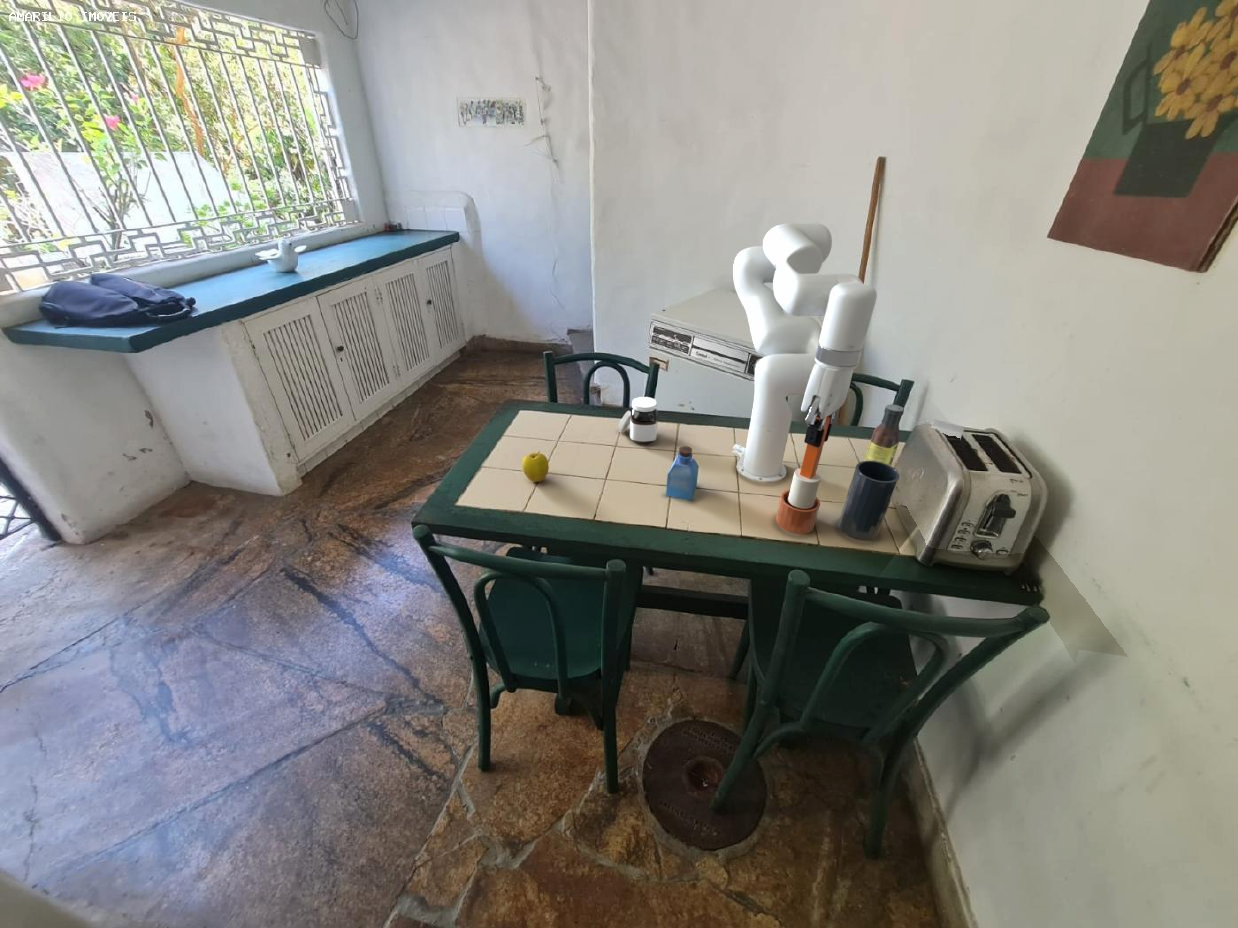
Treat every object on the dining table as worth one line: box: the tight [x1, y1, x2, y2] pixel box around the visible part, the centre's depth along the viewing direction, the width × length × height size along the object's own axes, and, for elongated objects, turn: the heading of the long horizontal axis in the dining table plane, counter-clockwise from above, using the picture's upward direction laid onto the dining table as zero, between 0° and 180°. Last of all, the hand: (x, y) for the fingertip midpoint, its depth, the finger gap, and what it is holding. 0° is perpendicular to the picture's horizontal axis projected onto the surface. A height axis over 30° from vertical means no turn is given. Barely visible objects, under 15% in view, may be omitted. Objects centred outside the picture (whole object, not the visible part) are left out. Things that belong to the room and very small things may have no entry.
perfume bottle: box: [665, 445, 700, 502], centre depth 122 cm, size 6×6×12 cm
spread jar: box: [616, 396, 659, 446], centre depth 145 cm, size 12×11×12 cm
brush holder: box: [775, 489, 821, 535], centre depth 113 cm, size 8×8×7 cm
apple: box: [521, 450, 550, 483], centre depth 127 cm, size 6×6×8 cm
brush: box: [788, 417, 830, 509], centre depth 106 cm, size 5×5×20 cm
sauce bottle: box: [863, 403, 905, 467], centre depth 126 cm, size 6×6×20 cm
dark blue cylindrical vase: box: [837, 460, 900, 542], centre depth 109 cm, size 8×8×16 cm
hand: (815, 441), depth 103 cm, fingers closed on brush, 2 cm apart
